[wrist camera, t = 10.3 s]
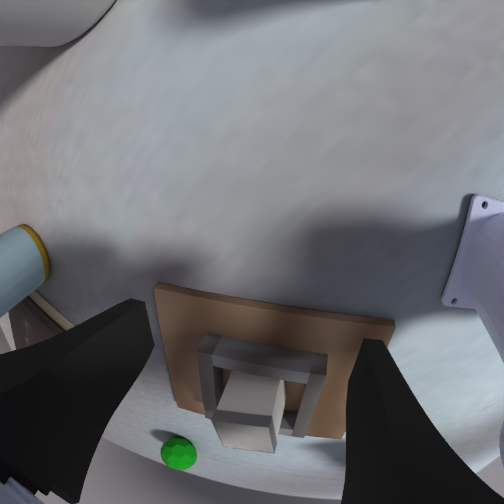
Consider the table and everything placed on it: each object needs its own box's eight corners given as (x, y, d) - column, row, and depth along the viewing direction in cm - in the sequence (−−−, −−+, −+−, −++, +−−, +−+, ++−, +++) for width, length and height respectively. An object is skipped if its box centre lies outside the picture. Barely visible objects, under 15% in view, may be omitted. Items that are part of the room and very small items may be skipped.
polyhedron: (191, 433, 33) (178, 461, 29) (207, 451, 35) (196, 477, 30) (162, 429, 35) (148, 455, 30) (179, 447, 36) (167, 471, 32)
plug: (283, 365, 22) (269, 427, 17) (287, 396, 24) (274, 453, 18) (234, 362, 23) (210, 419, 18) (242, 392, 25) (223, 446, 20)
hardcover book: (25, 352, 40) (18, 359, 38) (14, 263, 29) (2, 271, 27) (90, 407, 40) (83, 416, 38) (100, 340, 29) (89, 352, 27)
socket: (393, 320, 19) (400, 347, 16) (341, 433, 26) (339, 456, 23) (158, 282, 23) (138, 303, 20) (180, 401, 30) (169, 421, 27)
